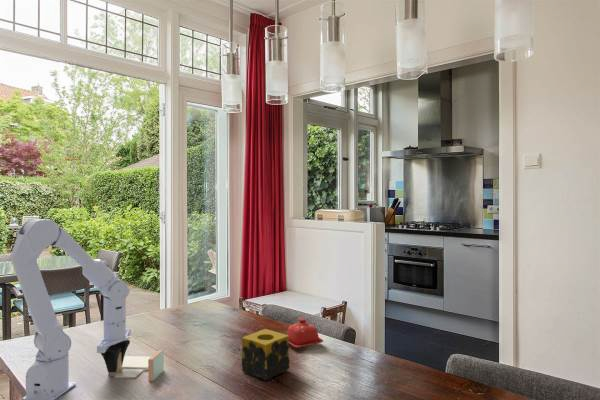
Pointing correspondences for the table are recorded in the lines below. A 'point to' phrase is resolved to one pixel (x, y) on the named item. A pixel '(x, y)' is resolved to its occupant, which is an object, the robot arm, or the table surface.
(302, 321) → the butter dish
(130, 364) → the trivet
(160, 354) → the tile
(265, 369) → the candle
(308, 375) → the table surface
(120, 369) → the grey plate tan block
